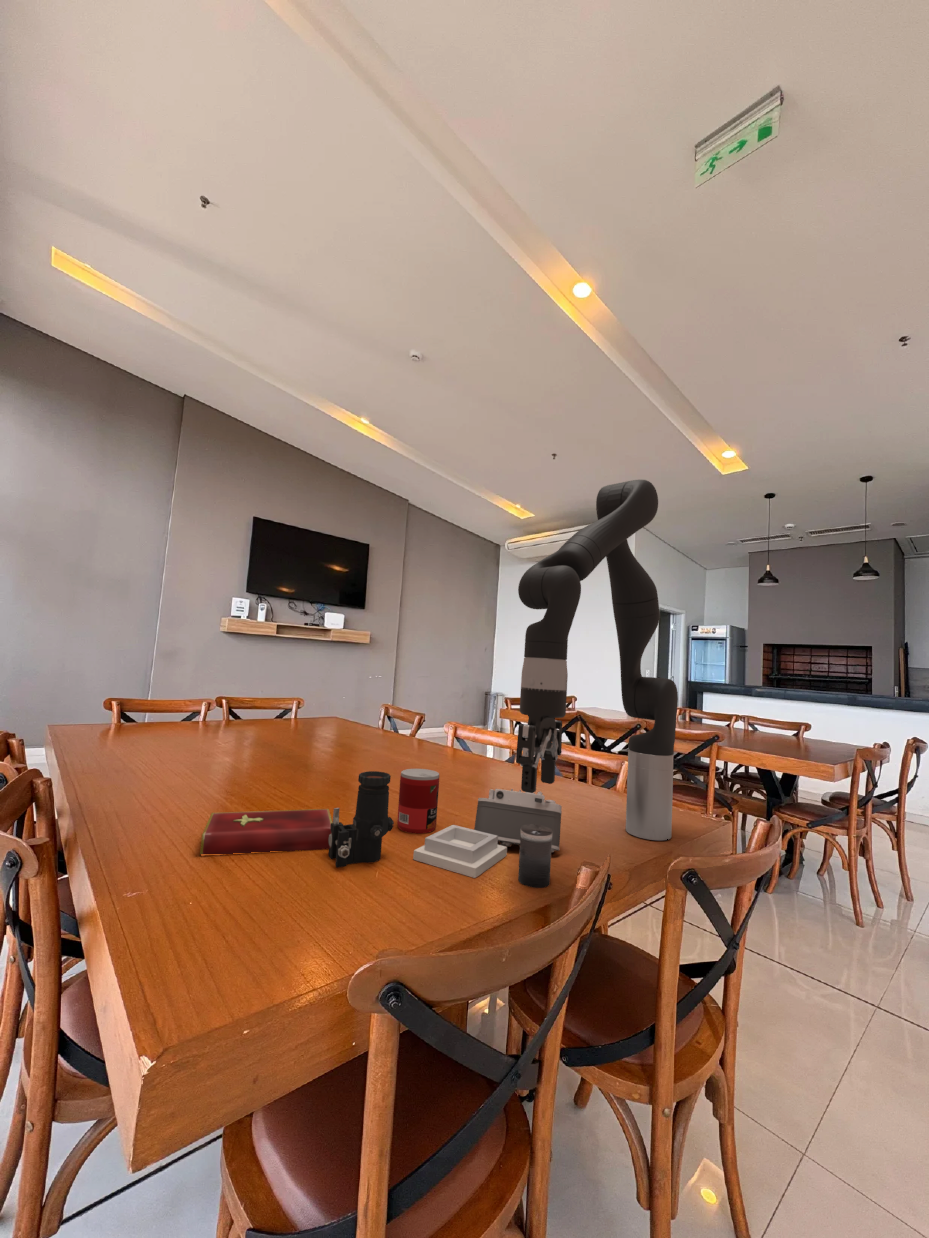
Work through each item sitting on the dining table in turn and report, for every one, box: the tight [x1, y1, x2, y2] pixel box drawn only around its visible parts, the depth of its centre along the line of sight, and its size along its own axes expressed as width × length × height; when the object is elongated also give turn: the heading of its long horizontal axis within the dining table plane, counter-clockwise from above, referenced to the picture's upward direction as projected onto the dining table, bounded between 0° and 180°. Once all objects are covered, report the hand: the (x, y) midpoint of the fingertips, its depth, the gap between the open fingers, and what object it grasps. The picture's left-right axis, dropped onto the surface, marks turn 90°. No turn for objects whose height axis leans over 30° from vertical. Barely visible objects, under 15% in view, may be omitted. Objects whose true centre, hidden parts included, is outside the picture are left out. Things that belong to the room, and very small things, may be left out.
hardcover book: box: [199, 808, 333, 855], centre depth 91 cm, size 12×21×4 cm, turn 110°
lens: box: [517, 824, 552, 889], centre depth 81 cm, size 5×5×8 cm
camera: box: [473, 788, 563, 854], centre depth 98 cm, size 9×16×10 cm, turn 84°
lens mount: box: [412, 824, 508, 879], centre depth 89 cm, size 12×12×4 cm
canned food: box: [396, 768, 440, 835], centre depth 104 cm, size 8×8×11 cm
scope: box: [327, 770, 394, 868], centre depth 86 cm, size 8×14×10 cm
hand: (538, 787), depth 82 cm, fingers open, 8 cm apart
